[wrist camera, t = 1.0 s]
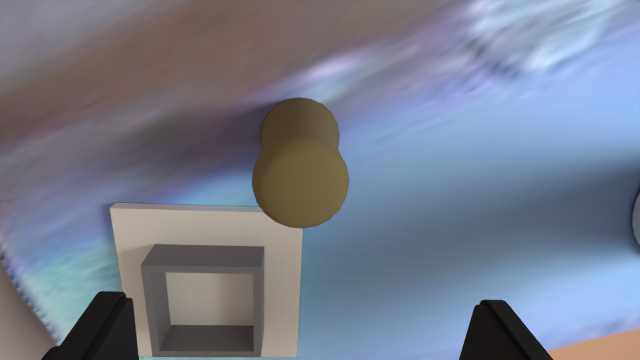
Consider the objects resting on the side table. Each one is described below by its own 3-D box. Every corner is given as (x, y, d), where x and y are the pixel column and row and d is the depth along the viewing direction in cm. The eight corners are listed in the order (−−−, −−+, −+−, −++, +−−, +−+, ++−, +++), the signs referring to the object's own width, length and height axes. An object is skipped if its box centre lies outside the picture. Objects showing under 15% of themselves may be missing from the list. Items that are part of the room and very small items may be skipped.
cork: (245, 148, 29) (217, 210, 19) (288, 81, 28) (281, 110, 17) (311, 187, 31) (317, 264, 21) (355, 126, 29) (385, 177, 19)
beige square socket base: (303, 208, 31) (304, 232, 28) (297, 348, 37) (296, 384, 33) (115, 202, 30) (89, 226, 27) (137, 348, 36) (118, 384, 32)
